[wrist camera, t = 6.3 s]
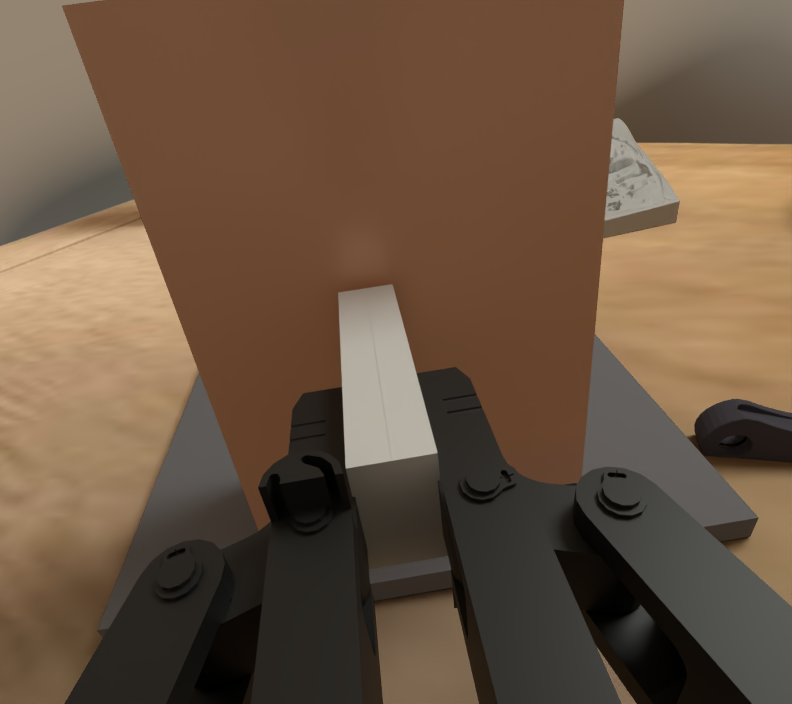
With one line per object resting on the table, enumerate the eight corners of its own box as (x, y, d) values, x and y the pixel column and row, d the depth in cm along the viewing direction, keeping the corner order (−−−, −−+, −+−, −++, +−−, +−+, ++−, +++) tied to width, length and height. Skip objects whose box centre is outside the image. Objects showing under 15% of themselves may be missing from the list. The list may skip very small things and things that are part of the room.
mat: (515, 257, 39) (515, 245, 38) (750, 536, 17) (758, 517, 17) (236, 299, 38) (233, 287, 38) (110, 646, 16) (97, 630, 16)
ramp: (673, 262, 36) (689, 187, 33) (467, 248, 43) (465, 185, 40) (680, 164, 56) (690, 112, 54) (539, 165, 63) (541, 119, 60)
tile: (548, 428, 21) (568, -39, 13) (581, 482, 18) (630, -70, 11) (270, 473, 21) (122, 21, 13) (259, 535, 18) (62, 6, 10)
